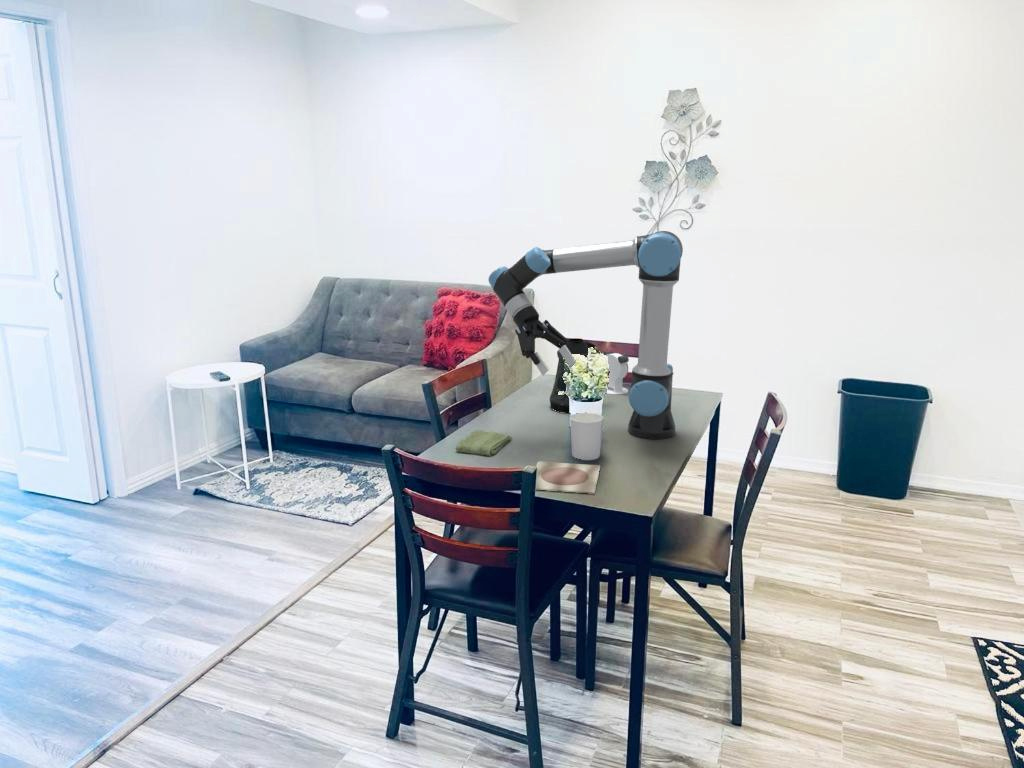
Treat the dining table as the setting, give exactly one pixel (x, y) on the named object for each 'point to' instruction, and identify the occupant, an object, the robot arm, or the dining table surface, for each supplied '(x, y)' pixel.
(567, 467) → the card
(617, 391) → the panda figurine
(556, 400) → the black tall bulky piece
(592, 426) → the white tapered cylinder
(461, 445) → the washcloth
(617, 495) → the dining table surface
